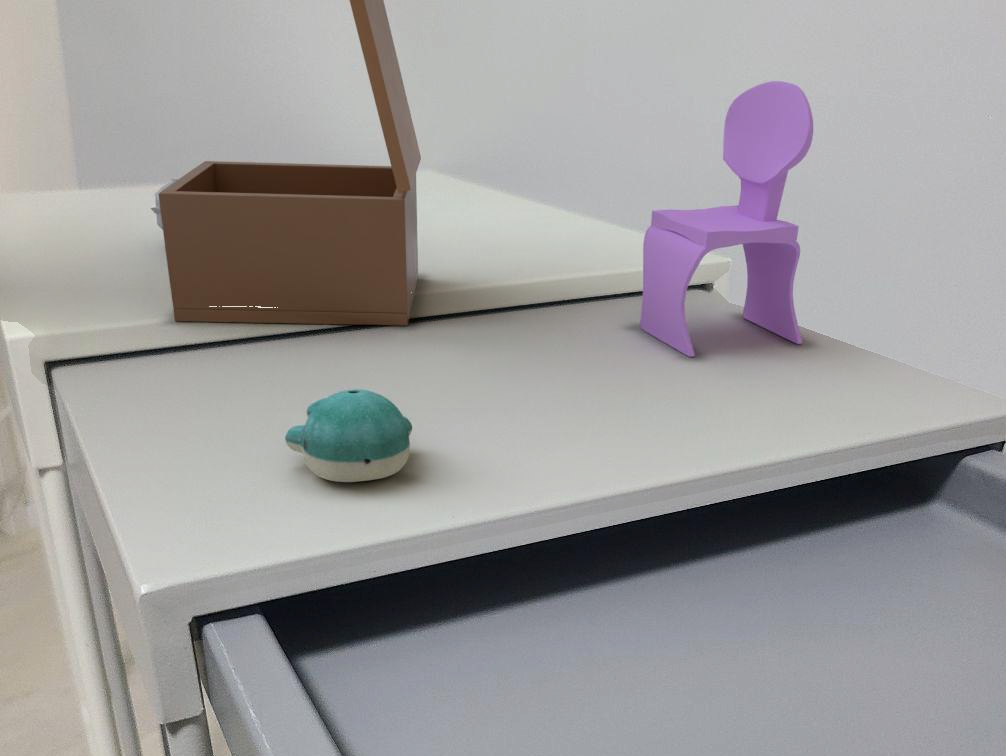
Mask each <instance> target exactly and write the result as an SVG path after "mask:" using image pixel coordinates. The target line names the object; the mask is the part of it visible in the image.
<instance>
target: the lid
mask: <svg viewBox="0 0 1006 756" xmlns="http://www.w3.org/2000/svg"><path fill="white" fill-rule="evenodd" d="M349 4H350V8H351V12H352V16H353V20H354V23H355V28H356V31H357V36H358V40H359V44H360V47H361V51H362V55H363V59H364V63H365V68H366V71H367V74H368V79H369V83H370V84H369V85H370V87H371V91H372V96H373V99H374V103H375V107H376V111H377V115H378V119H379V123H380V128H381V130H382V135H383V138H384V143H385V146H386V147H385V148H386V150H387V155H388V158H389V162H390V166H391V167H392V171H393V175H394V179H395V182H396V186H397V190H398V192H399V193H401V192H405V191H410V190H411V187H412V184H413V181H414V178H415V175H416V176H417V172H418V168H419V166H420V163H421V159H422V155H421V152H420V151H421V150H420V148H419V144H418V139H417V135H416V131H415V127H414V122H413V118H412V114H411V110H410V105H409V101H408V97H407V93H406V90H405V85H404V84H405V83H404V81H403V80H404V79H403V76H402V71H401V68H400V64H399V59H398V55H397V51H396V47H395V43H394V39H393V35H392V30H391V26H390V22H389V18H388V13H387V10H386V5H385V1H384V0H349Z"/></svg>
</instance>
